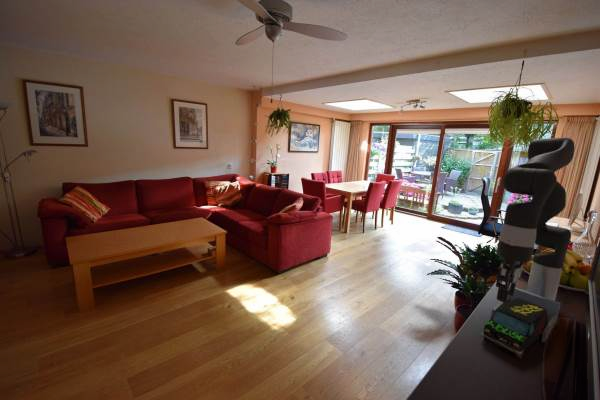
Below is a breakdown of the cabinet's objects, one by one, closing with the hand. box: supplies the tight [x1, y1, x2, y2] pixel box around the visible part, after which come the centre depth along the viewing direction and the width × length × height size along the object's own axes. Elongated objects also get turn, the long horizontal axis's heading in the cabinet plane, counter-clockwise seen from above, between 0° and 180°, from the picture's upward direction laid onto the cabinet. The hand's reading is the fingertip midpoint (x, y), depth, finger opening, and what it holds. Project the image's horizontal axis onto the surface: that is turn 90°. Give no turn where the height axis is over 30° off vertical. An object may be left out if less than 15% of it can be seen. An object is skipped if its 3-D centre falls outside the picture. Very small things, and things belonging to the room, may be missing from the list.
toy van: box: [481, 298, 548, 359], centre depth 89 cm, size 11×25×10 cm, turn 123°
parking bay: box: [490, 287, 562, 343], centre depth 98 cm, size 19×15×8 cm
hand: (505, 297), depth 76 cm, fingers open, 5 cm apart
